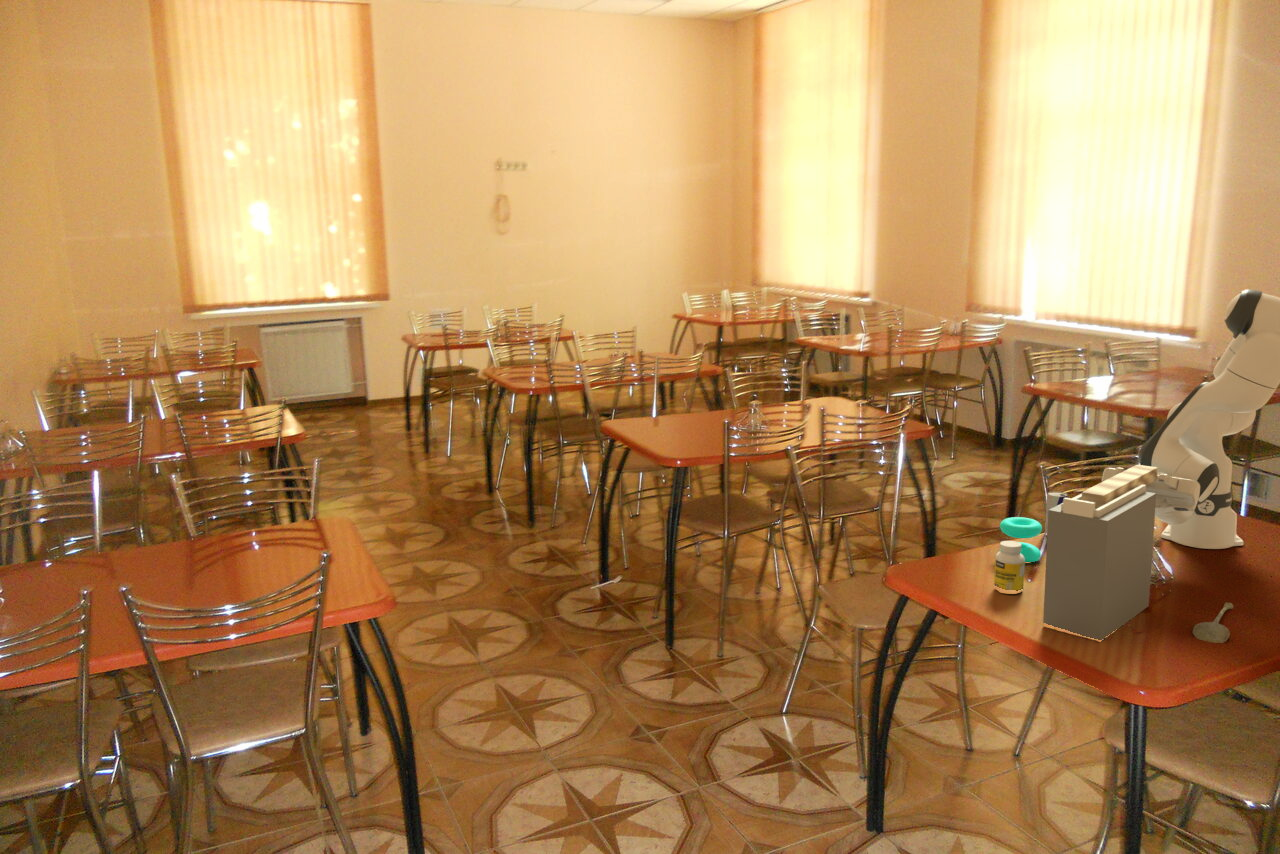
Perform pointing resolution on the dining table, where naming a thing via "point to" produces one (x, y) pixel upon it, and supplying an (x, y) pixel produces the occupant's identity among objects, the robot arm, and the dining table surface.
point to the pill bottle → (1009, 566)
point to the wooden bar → (1120, 484)
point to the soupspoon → (1213, 629)
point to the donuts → (1023, 535)
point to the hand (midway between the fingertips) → (1140, 473)
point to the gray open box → (1099, 562)
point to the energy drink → (1053, 503)
